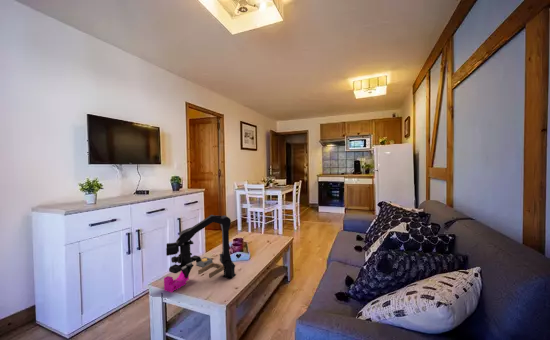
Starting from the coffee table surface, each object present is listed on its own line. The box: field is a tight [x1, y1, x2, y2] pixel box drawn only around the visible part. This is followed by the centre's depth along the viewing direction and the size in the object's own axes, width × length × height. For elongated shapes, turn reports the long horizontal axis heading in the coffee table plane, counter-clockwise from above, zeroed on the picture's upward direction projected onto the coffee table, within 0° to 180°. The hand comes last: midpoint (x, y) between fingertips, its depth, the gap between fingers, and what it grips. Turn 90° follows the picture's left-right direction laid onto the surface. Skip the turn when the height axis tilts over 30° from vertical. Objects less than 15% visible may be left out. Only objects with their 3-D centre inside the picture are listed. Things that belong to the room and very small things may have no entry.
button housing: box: [195, 256, 214, 268], centre depth 164 cm, size 8×8×3 cm
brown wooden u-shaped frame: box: [197, 262, 224, 279], centre depth 152 cm, size 11×14×2 cm
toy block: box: [163, 270, 190, 293], centre depth 135 cm, size 15×6×8 cm, turn 156°
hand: (186, 277), depth 134 cm, fingers closed
